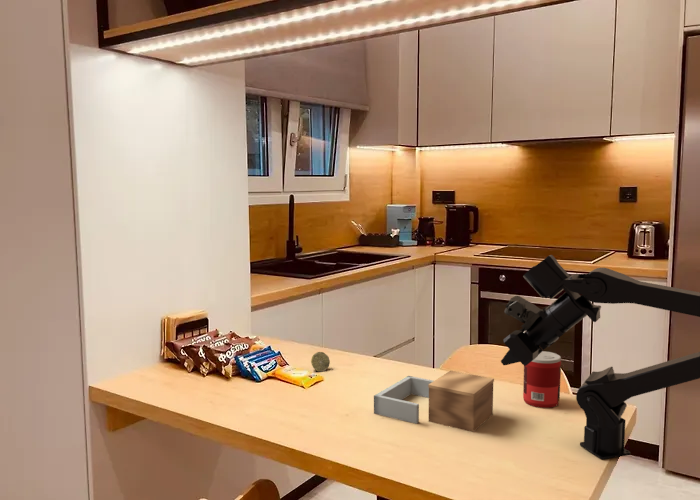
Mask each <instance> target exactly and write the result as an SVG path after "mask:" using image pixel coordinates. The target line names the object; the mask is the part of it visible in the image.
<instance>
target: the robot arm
mask: <svg viewBox="0 0 700 500" xmlns="http://www.w3.org/2000/svg"><path fill="white" fill-rule="evenodd" d="M522 277H523V278H524V280H525V281H526V282H527V283H528V284H529V285H530V286H531V287H532V288H533V289H534V291H536V293H537V294H538V295H539V297H541V298H542V299H544V298H545V299H547V298H549V300H552V299H553V298H555V297H556V296H558V295H559V294H560V293H562V291H564V293H562V295H560V296H559V297H558V298H557V299H555V300H554V301H553V302H551V304H549V305H548V306H545V307H544V308H542V309H541V308H540V307H538V306H537V305H535V304H534V303H532V302H530V301H529V300H528V299H525V298H523V297H522V296H519V295H515V296H513V297H511V298H510V300H508V303H507V304H505V309H504V311H503V312H504V314H505V315H507V316H508V317H511V318H514V319H515V320H517V321H519V322H520V323H523V324H522V325H521V328H520V329H519V330H516V329H515V330H513V331H512V332H511V333H510V334H509V335H507V336H506V337H504V338H503V343H504V344H505V346H506V347H507V348H508V349H509V350H508V351H507V352H506V353H505V355H504V356H503V358H502V359H501V360H500V362H501V364H502V365H503V366H508V365H513V364H516V363H520V364H521V365H523V367H524V366H526V365H528V364H529V363H530V362H531V361H533V360H534V359H535V358H536V357H537V356H538V355H539V354H540V353H541V352H542V351H544V350H545V349H547V348H550V347H551V346H552V345H553V344H555V342H557V341H558V340H559V339H560V337H562V336H563V335H564V334H566V333H567V332H568V331H569V330H570V329H572V328H573V327H574V326H576V324H578V323H580V322H581V321H582V320H584V319H585V318H586V317H587V316H588V318H589V319H590V320H591V321H592V322H593V323H596V322H597V321H598V320H599V319H601V308H602V306H601V305H597V304H609V305H610V304H613V305H614V304H635V305H640V306H644V307H645V306H646V307H650V308H655V309H660V310H665V311H670V312H674V313H679V314H684V315H688V316H689V315H690V316H694V317H699V318H700V291H694V290H689V289H683V288H678V287H672V286H667V285H663V284H657V283H652V282H645V281H642V280H641V281H640V280H638V279H635V278H633V277H631V276H629V275H626V274H625V273H621V272H619V271H616V270H613V269H610V268H607V267H596V268H594V269H593V270H591V271H589V272H588V273H573V274H571V275H570V274H569V272H567V271H566V269H564V267H563V266H562V265H560V263H559V262H558V260H557V259H556V257H555V256H554V255H553V254H550V255H548V256H546V257H545V258H544V259H542V260H541V261H540V262H538V264H535V265H533V266H532V267H531V268H530V269H529V270H527V271H526V272H525V273H524V274H523V276H522ZM594 303H596V304H594ZM699 379H700V351H698V352H693V353H691V354H687V355H684V356H681V357H677V358H674V359H670V360H667V361H663V362H659V363H657V364H654V365H650V366H646V367H643V368H640V369H636V370H633V371H630V372H626V373H620V372H616V373H615V370H614V367H613V366H609V367H607V368H605V369H603V370H600V371H591V373H590V374H589V376H588V377H587V378H586V379H585V381H584V382H583V383H582V384H581V386H580V387H579V388H578V390H577V391H576V394H575V395H576V396H575V397H576V402H577V405H578V406H579V408H580V409H582V411H584V415H585V417H586V422H585V423H586V424H585V425H584V429H583V430H584V431H583V441H579V446H580V447H582V448H583V449H585V450H586V451H588V452H590V453H591V454H592V455H594V456H595V457H596V458H599V459H600V460H606V459H613V458H619V457H624V456H625V457H626V456H630V455H631V451H630V450H627V449H626V448H625V437H626V419H625V418H623V417H622V416H623V414H624V413H625V410H626V408H627V405H628V404H627V403H626V402H625V401H628V400H629V399H631V398H633V397H637V396H641V395H643V394H644V395H645V394H648V393H651V392H654V391H659V390H663V389H666V388H669V387H673V386H677V385H681V384H684V383H688V382H691V381H695V380H699Z"/></svg>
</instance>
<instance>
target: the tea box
mask: <svg viewBox="0 0 700 500" xmlns="http://www.w3.org/2000/svg"><path fill="white" fill-rule="evenodd" d="M494 382H495V378H494V377H493V378H492V377H487V376H482V375H476V374H473V373H472V374H471V373H467V372H460V371H456V370H449V371H447V372H446V373H444V374H443V375H441V376H440V377H438V378H436V379H435V380H433V382H432V383H430V384H429V385H428V388H429V398H428V422H429V423H433V424H436V425H437V424H438V425H442V426H446V427H449V426H450V427H451V428H453V429H458V430H463V431H467V432H470V433H474V432H475V431H476V430H478V428H480V427H481V426H482V425H483V424H484V423H485V422H486V421H487V420H488V419H490V417H492V416H493V412H494V410H493V409H494V408H493V407H494Z"/></svg>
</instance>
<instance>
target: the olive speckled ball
mask: <svg viewBox="0 0 700 500" xmlns="http://www.w3.org/2000/svg"><path fill="white" fill-rule="evenodd" d="M330 362H331V361H330V357H329V356H328V354H327V353H326V352H323V351H317V352H315V353H314V354H313V355H312V356H311V360H310V363H311V366H312V368H313V369H314V370H315V371H316V372H324V371H326V370H327V369H328V368H329V367H330V364H331V363H330Z"/></svg>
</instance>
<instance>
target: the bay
mask: <svg viewBox="0 0 700 500" xmlns="http://www.w3.org/2000/svg"><path fill="white" fill-rule="evenodd" d="M433 381H434V380H432V379H427V378H421V377H417V376H411V375H407V376H406V377H403V378H402V379H401V380H399V381H397V382H395V383H394V384H391V385H390V386H388V387H386V388H385V389H383V390H381V391H380V392H378V393H376V394H375V395H373V414H375V415H380V416H383V417H388V418H391V419H396V420H398V421H399V420H400V421H403V422H408V423H412V424H418V423H419V420H420V409H419V408H420V404H419V403H415V402H413V401H412V402H411V401H408V400H404V399H406V398H407V397H409V396H410V395H414V396H419V397H424V398H427V399H429V388H428V385H429V384H430V383H432V382H433Z"/></svg>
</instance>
